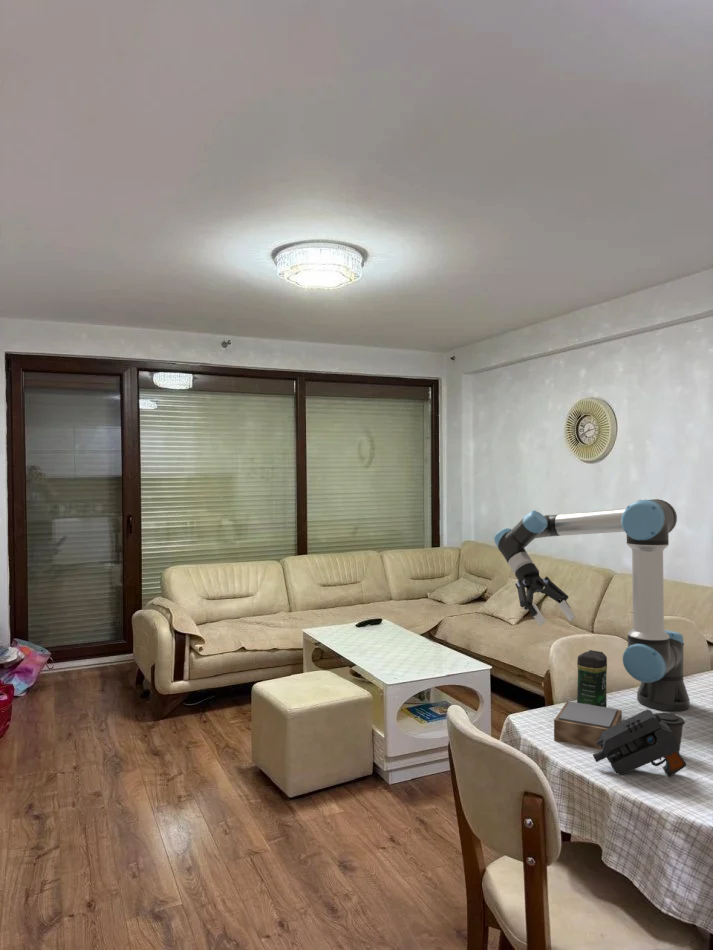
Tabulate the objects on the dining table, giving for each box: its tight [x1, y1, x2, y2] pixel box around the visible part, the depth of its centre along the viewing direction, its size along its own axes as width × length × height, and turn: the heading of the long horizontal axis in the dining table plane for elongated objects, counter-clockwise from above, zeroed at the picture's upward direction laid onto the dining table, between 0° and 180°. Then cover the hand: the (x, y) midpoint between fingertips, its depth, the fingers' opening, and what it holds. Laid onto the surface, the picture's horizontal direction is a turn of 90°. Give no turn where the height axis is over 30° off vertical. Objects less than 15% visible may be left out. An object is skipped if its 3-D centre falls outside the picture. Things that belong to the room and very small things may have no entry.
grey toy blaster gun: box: [592, 708, 687, 778], centre depth 159 cm, size 6×19×15 cm, turn 78°
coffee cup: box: [653, 712, 686, 754], centre depth 169 cm, size 8×8×10 cm
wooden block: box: [553, 701, 623, 751], centre depth 182 cm, size 15×17×6 cm
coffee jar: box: [576, 649, 608, 708], centre depth 198 cm, size 10×8×19 cm
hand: (557, 621), depth 210 cm, fingers open, 13 cm apart
